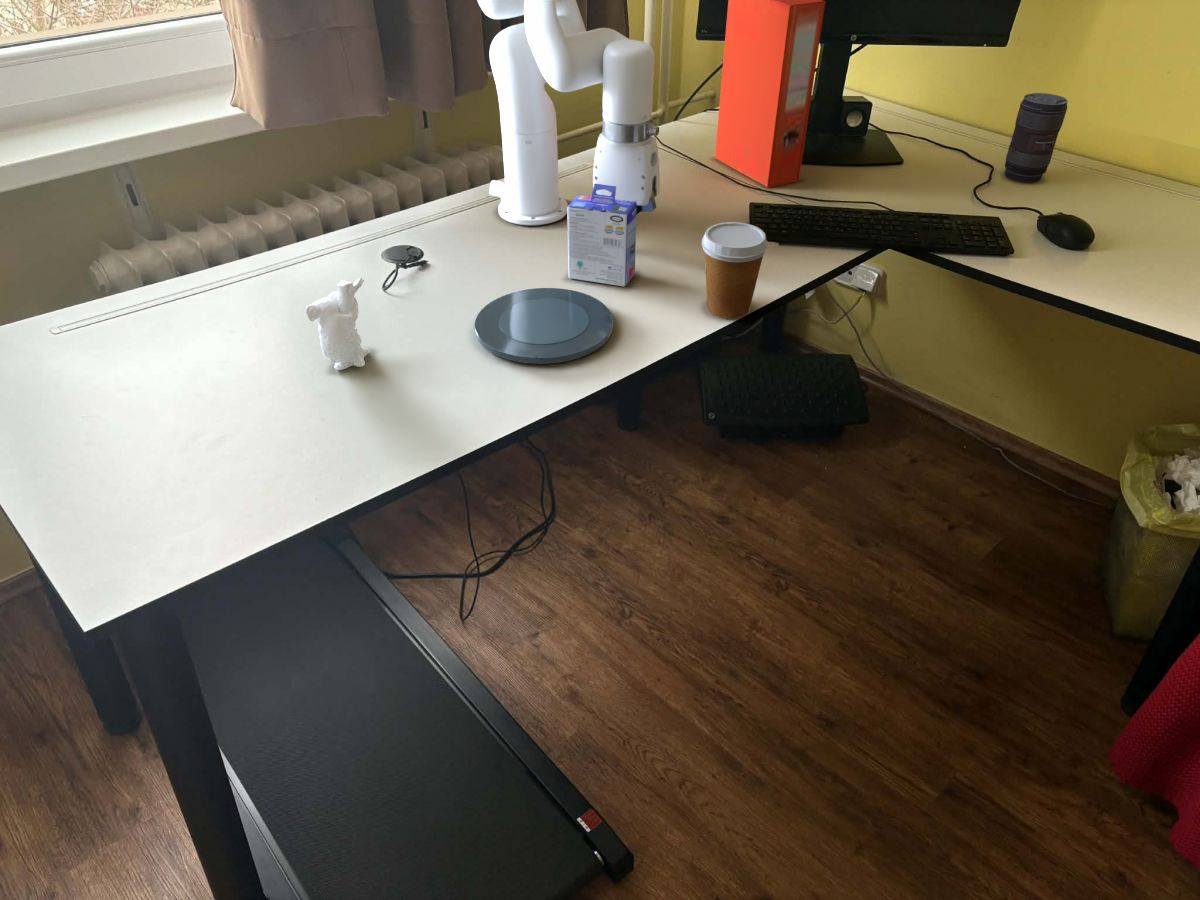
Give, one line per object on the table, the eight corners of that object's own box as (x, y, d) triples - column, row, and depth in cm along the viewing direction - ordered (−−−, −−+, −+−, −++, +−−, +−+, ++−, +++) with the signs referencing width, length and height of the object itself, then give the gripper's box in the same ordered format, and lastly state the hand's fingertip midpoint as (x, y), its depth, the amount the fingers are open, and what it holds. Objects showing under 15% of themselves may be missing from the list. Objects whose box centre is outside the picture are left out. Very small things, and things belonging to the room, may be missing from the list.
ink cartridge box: (636, 272, 145) (639, 185, 136) (626, 288, 141) (628, 199, 132) (579, 264, 147) (577, 178, 138) (567, 279, 143) (565, 191, 134)
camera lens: (1048, 174, 176) (1073, 95, 167) (1039, 188, 171) (1065, 107, 162) (1006, 166, 180) (1028, 88, 171) (996, 179, 174) (1018, 100, 165)
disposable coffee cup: (719, 330, 130) (726, 254, 123) (684, 302, 137) (689, 228, 130) (773, 315, 134) (782, 240, 126) (736, 288, 140) (744, 215, 133)
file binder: (746, 152, 186) (763, -19, 166) (800, 180, 175) (825, 0, 155) (714, 159, 183) (728, -14, 163) (767, 188, 171) (788, 5, 152)
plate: (448, 346, 127) (447, 337, 126) (519, 285, 141) (519, 276, 140) (573, 381, 120) (573, 371, 119) (635, 313, 134) (635, 304, 133)
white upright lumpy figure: (370, 343, 128) (355, 266, 121) (387, 365, 124) (373, 287, 116) (311, 360, 125) (293, 282, 117) (327, 383, 120) (308, 304, 113)
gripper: (681, 129, 138) (673, 239, 149) (595, 113, 143) (594, 221, 155) (660, 145, 133) (655, 258, 144) (572, 127, 138) (573, 238, 150)
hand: (623, 238), depth 149 cm, fingers closed
